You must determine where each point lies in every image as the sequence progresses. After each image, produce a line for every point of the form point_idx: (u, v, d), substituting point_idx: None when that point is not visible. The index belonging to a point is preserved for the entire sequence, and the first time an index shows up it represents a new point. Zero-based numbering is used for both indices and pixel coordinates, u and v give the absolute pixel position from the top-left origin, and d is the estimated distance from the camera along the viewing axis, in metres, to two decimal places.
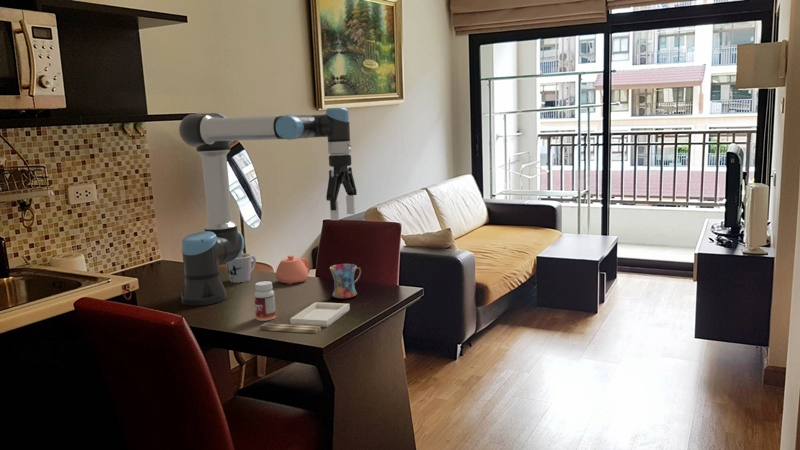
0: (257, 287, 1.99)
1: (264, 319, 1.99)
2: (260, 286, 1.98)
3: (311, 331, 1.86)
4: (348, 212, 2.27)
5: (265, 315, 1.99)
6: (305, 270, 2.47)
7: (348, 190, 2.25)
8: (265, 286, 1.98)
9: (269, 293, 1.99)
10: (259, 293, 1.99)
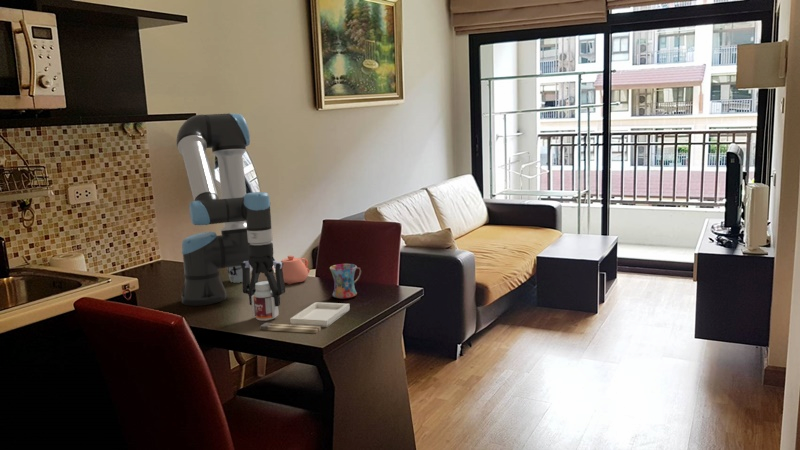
0: (257, 287, 1.99)
1: (264, 319, 1.99)
2: (260, 286, 1.98)
3: (311, 331, 1.86)
4: None
5: (265, 315, 1.99)
6: (305, 270, 2.47)
7: None
8: (265, 286, 1.98)
9: (269, 293, 1.99)
10: (259, 293, 1.99)
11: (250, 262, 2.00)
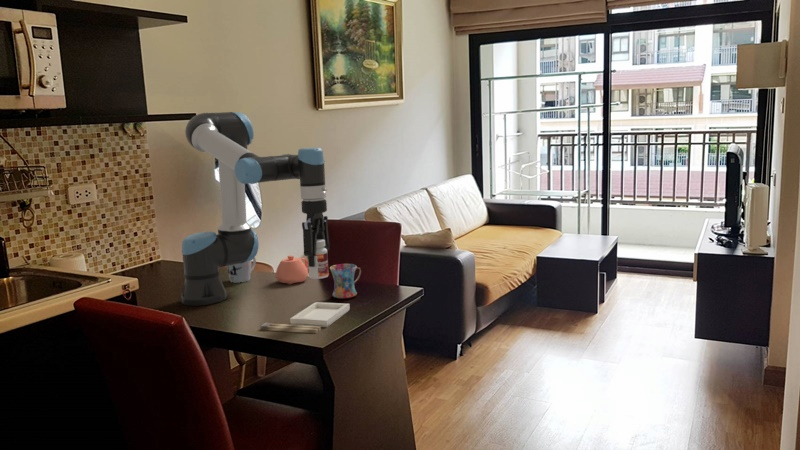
0: (322, 243, 1.96)
1: (328, 274, 1.99)
2: (324, 242, 1.97)
3: (311, 331, 1.86)
4: None
5: (328, 270, 1.99)
6: (305, 270, 2.47)
7: None
8: None
9: None
10: (324, 249, 1.97)
11: (313, 220, 1.93)
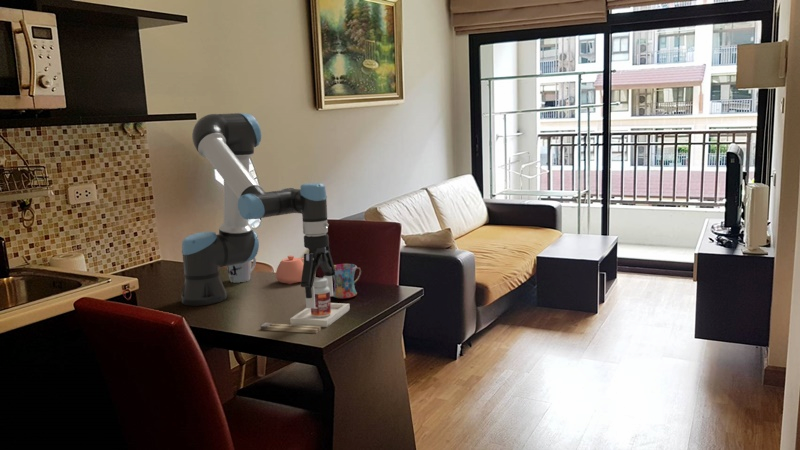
0: (325, 283, 1.98)
1: (330, 312, 2.01)
2: (327, 281, 1.99)
3: (311, 331, 1.86)
4: None
5: (330, 308, 2.01)
6: None
7: (326, 270, 2.05)
8: None
9: None
10: (327, 288, 1.99)
11: (315, 255, 1.95)
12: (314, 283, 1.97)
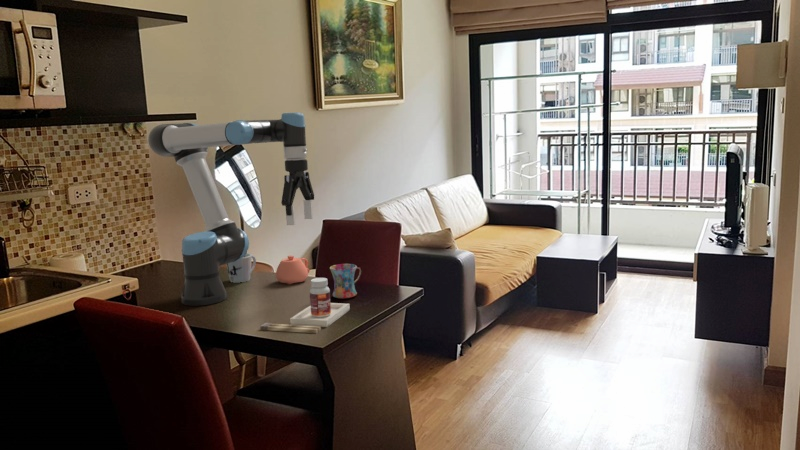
0: (325, 283, 1.98)
1: (330, 312, 2.01)
2: (326, 281, 1.99)
3: (311, 331, 1.86)
4: (306, 217, 2.26)
5: (330, 308, 2.01)
6: (305, 270, 2.47)
7: (305, 195, 2.25)
8: None
9: None
10: (326, 288, 1.99)
11: (295, 177, 2.14)
12: (314, 283, 1.97)
